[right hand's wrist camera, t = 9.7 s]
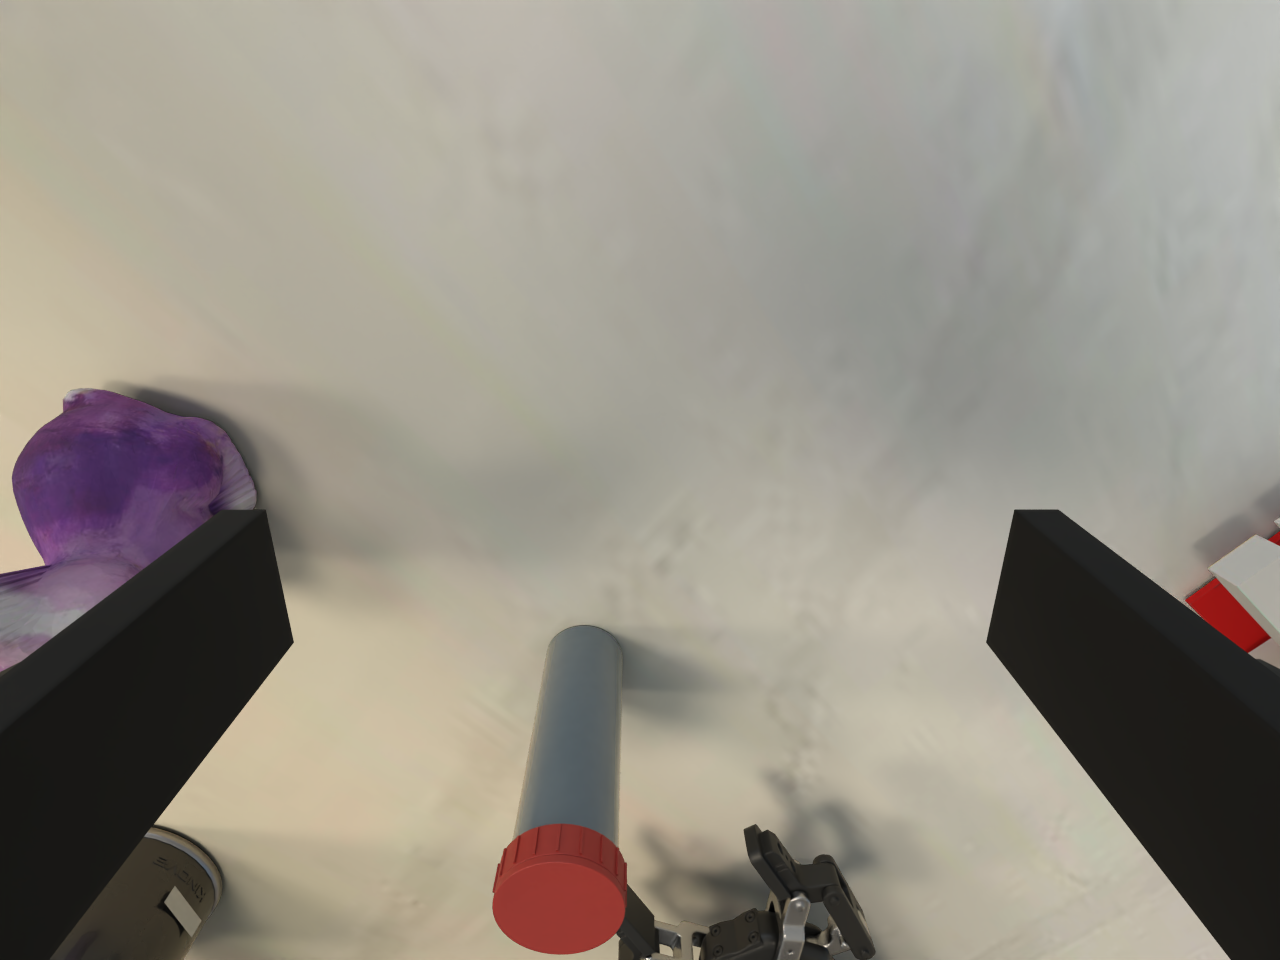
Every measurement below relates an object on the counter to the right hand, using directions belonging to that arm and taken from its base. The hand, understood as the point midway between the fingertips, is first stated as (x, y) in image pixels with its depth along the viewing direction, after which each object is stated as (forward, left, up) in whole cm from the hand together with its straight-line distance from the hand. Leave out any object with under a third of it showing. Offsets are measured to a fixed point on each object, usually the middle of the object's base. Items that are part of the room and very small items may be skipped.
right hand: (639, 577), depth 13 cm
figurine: (-23, -10, -24) cm, 34 cm away
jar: (-2, -19, -24) cm, 31 cm away
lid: (-2, -19, -8) cm, 21 cm away
